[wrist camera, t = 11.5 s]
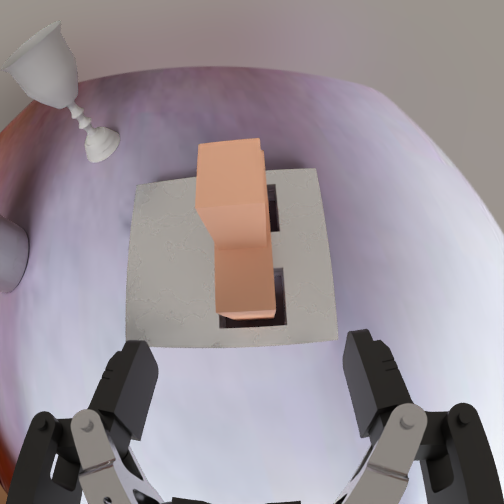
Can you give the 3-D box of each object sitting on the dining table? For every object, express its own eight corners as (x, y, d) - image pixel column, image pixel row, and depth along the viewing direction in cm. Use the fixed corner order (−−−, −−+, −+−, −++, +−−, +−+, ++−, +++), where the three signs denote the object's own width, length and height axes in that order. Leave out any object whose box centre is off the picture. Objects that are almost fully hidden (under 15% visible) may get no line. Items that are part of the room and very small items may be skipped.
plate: (142, 344, 22) (125, 345, 19) (148, 199, 26) (136, 185, 23) (329, 339, 21) (338, 339, 18) (311, 185, 25) (315, 168, 22)
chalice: (72, 169, 29) (-10, 79, 11) (93, 128, 30) (29, 36, 13) (115, 168, 28) (28, 54, 11) (135, 124, 30) (74, 11, 13)
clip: (236, 321, 22) (186, 299, 9) (233, 214, 25) (198, 96, 12) (273, 319, 22) (279, 295, 9) (266, 212, 25) (260, 89, 11)
